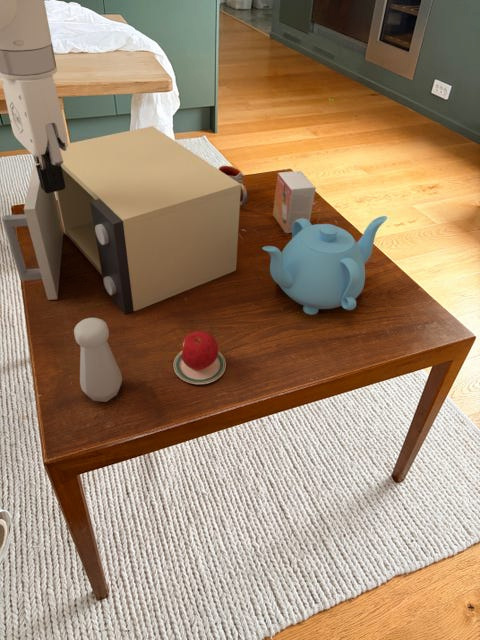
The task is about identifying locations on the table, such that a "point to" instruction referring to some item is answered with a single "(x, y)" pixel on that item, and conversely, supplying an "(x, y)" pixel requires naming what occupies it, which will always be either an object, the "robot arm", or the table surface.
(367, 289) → the table surface
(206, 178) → the microwave
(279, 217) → the small box
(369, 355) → the table surface
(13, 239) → the microwave door
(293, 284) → the teapot
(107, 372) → the salt shaker
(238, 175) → the mug
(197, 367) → the apple
